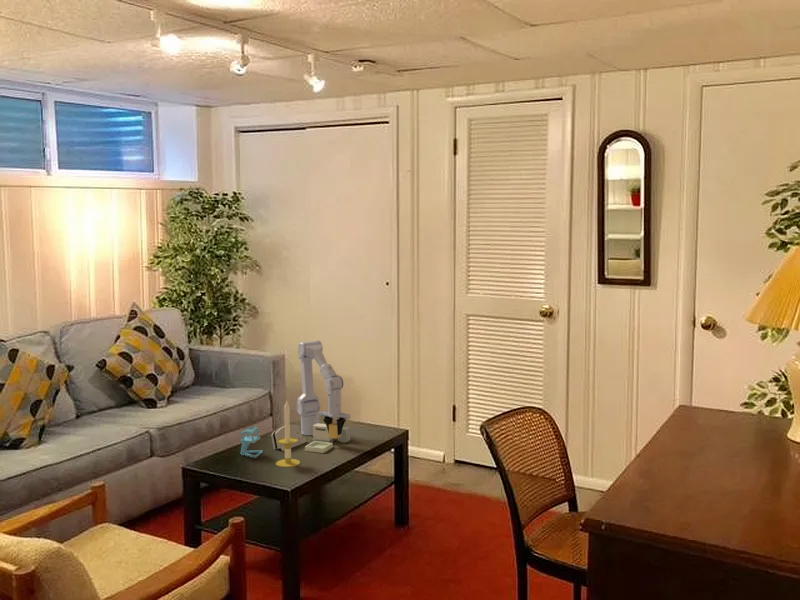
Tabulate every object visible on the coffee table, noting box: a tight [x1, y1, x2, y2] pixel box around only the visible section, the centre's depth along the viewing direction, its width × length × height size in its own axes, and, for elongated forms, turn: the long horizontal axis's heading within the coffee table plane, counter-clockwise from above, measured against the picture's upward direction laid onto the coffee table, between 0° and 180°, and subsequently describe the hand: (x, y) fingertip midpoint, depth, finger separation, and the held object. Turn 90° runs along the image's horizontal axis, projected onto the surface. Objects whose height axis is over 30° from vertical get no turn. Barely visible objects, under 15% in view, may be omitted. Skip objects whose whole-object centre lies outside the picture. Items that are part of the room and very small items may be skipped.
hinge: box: [270, 424, 307, 452], centre depth 351 cm, size 17×5×10 cm, turn 147°
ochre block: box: [329, 421, 341, 440], centre depth 350 cm, size 4×4×6 cm
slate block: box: [337, 426, 351, 443], centre depth 357 cm, size 4×4×6 cm
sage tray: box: [304, 441, 334, 454], centre depth 345 cm, size 9×9×2 cm
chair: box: [239, 426, 264, 459], centre depth 338 cm, size 8×8×12 cm
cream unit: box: [310, 422, 336, 443], centre depth 358 cm, size 6×9×7 cm, turn 69°
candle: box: [275, 400, 301, 468], centre depth 325 cm, size 10×10×27 cm
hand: (335, 433), depth 350 cm, fingers closed on ochre block, 4 cm apart
